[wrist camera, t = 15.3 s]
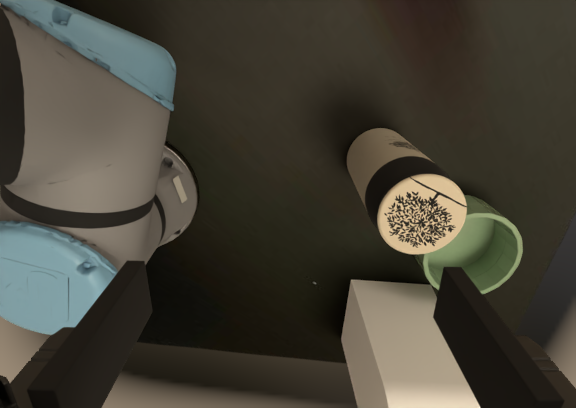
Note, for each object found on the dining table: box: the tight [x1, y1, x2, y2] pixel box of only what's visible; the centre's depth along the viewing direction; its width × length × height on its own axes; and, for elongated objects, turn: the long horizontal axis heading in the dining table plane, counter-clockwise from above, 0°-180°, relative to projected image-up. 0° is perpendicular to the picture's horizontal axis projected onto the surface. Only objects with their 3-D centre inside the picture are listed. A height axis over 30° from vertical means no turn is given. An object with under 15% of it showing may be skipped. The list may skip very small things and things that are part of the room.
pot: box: [413, 195, 523, 294], centre depth 49 cm, size 12×12×6 cm
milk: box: [341, 280, 480, 408], centre depth 45 cm, size 12×12×26 cm
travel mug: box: [347, 128, 467, 254], centre depth 39 cm, size 8×8×18 cm
